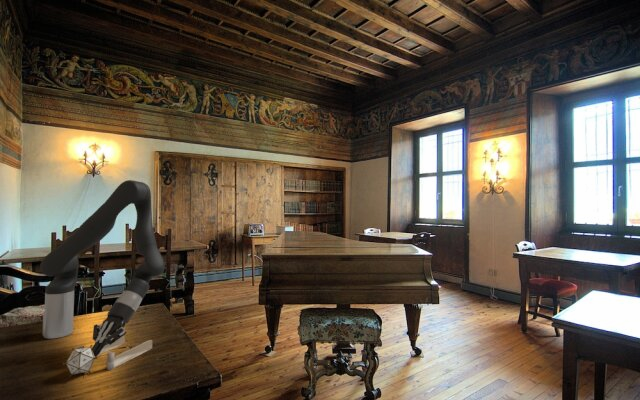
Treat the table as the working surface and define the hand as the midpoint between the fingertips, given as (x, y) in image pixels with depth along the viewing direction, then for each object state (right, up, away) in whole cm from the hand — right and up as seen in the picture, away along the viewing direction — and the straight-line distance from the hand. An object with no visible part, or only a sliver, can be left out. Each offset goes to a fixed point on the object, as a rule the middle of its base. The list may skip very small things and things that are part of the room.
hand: (92, 355), depth 106 cm
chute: (+3, -4, +9) cm, 10 cm away
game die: (-1, -4, -4) cm, 6 cm away
